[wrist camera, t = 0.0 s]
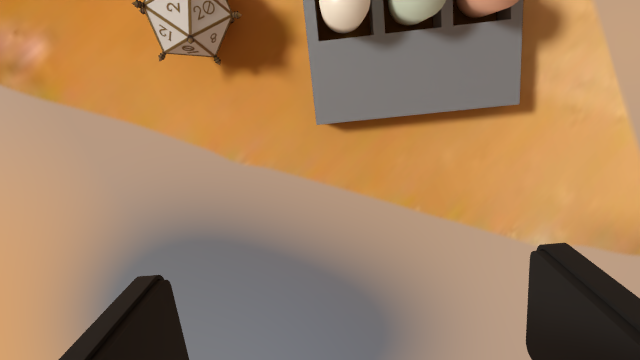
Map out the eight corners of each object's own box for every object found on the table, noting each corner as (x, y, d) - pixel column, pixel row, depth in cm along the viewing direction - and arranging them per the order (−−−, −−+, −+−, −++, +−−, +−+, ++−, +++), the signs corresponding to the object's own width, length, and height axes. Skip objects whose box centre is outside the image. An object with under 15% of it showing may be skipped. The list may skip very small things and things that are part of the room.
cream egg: (319, -12, 34) (316, -25, 30) (363, -17, 34) (368, -31, 29) (323, 35, 35) (321, 30, 31) (366, 30, 35) (372, 24, 30)
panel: (293, -103, 34) (290, -119, 31) (512, -134, 33) (529, -153, 30) (317, 120, 40) (316, 124, 37) (505, 101, 38) (519, 104, 36)
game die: (217, 2, 40) (224, -82, 31) (247, 73, 39) (264, 8, 30) (127, 16, 37) (106, -73, 28) (158, 94, 36) (146, 28, 27)
